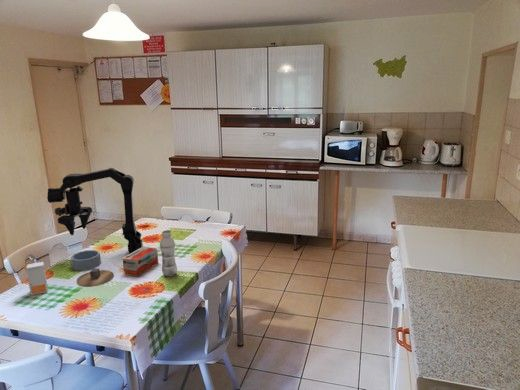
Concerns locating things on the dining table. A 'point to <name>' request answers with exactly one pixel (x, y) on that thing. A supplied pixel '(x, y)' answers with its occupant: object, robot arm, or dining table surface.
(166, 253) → the plastic bottle
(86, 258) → the slate bowl
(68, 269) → the dining table surface
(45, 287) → the skincare box
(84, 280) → the walnut lid
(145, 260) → the red printed carton
